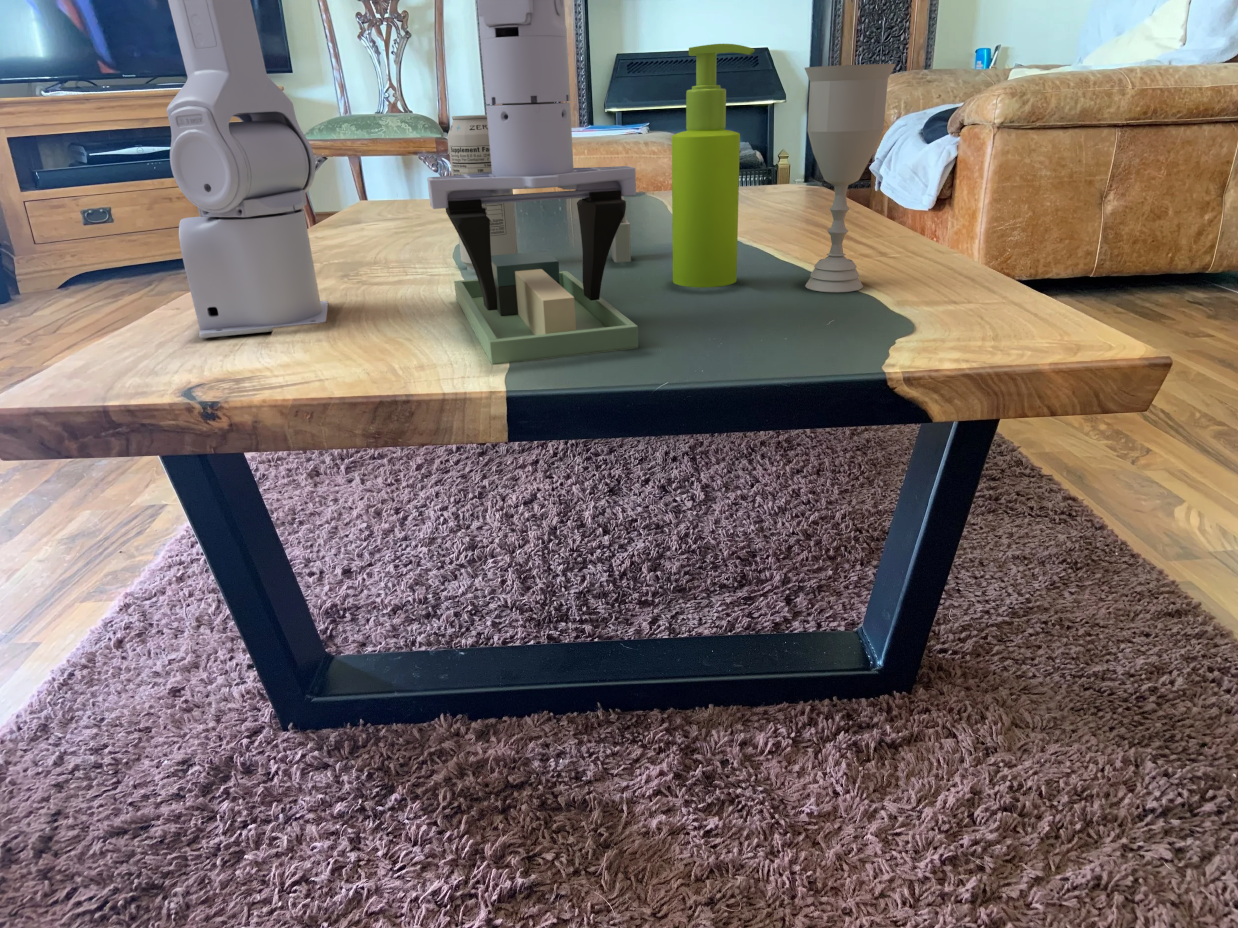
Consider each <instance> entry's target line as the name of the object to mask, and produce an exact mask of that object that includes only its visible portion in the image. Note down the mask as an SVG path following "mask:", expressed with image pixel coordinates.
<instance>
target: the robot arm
mask: <svg viewBox="0 0 1238 928" xmlns="http://www.w3.org/2000/svg"><path fill="white" fill-rule="evenodd" d="M167 2H168V7H169V10H170V13H171V14H170V15H171V18H172V21H173V26H174V29H175V34H176V38H177V41H178V45H179V49H180V53H181V57H182V61H183V65H184V68H185V73H186V77H187V80H186V81H185V83H184V85H183V86H182V87H181V89H180V90H178V92H177V94H176V95H175V96H174V98H173V99H172V100H171V101H170V103H169V104H168V105H167V107H166V115H167V118H168V122H169V127H170V132H171V139H170V140H171V142H170V149H169V162H170V164H169V165H170V168H171V173H172V176H173V179H174V181H175V183H176V185H177V187H178V188H179V190H180V192H181V193H182V194H183V196H184V197H185V198H186V199H187V200H188V201H189V202H190V203H191V204H193V206H195V207H197V210H198V214H199V215H198V216H192V217H191V216H190V217H184V218H181V219H180V220H179V224H178V238H179V247H180V252H181V258H182V262H183V267H184V270H185V274H186V279H187V283H188V287H189V291H190V296H191V299H192V303H193V308H194V312H195V315H196V320H197V324H198V329H199V332H198V335H199V338H201V339H208V338H218V337H219V338H220V337H228V336H237V335H238V336H239V335H249V334H260V333H270V332H273V330H274V329H278V328H279V329H280V328H291V327H301V326H311V325H321V324H325V323H327V319H328V309H329V301H327V300H321V299H320V291H319V287H318V286H319V285H318V281H317V275H316V270H315V265H314V264H315V263H314V258H313V253H312V247H311V242H310V236H309V230H308V226H307V220H306V214H305V209H304V207H305V206H307V205H308V202H307V201H308V200H307V196H306V193H307V192H308V191H309V190H310V188H311V187H312V185H313V182H314V180H315V176H316V158H315V154H314V153H315V152H314V151H313V148H312V145H311V144H310V142H309V139H308V138H307V137H306V135H305V134H304V132H303V130H302V128H301V127H300V125H299V122H298V120H297V115H296V113H295V107H294V102H292V100H291V99H290V98H289V96H288V95H286V94H285V93H284V91H283V90H282V89H281V88H280V87H279V86H278V85H277V84H276V83H275V82H274V81H273V80H272V79H271V77H269V75H268V74H267V69H266V66H265V65H266V64H265V61H264V56H263V52H262V47H261V41H260V38H259V33H258V28H257V24H256V19H255V15H254V10H253V6H252V2H251V0H167ZM476 3H477V13H478V14H477V16H478V27H479V41H480V51H481V63H482V73H483V75H482V76H483V86H484V95H485V96H484V98H485V104H486V106H485V110H486V115H487V122H488V134H489V145H490V156H491V167H492V172H488V173H477V174H465V175H454V176H452V175H442V176H429V177H426V180H427V188H428V197H429V206H430V207H431V209H433V210H440V209H445V213H446V215H447V217H448V218H449V220H450V222H451V224H452V227H454V229H455V231H456V234H457V236H458V235H459V236H458V238H459V237H460V239H461V241H462V243H463V245H464V247H465V249H466V251H467V253H468V255H469V257H470V260H471V262H472V265H473V267H474V272H475V275H476V279H478V281H479V284H480V288H481V292H482V296H483V301H484V306H485V307H486V309H487V310H489V311H490V310H498V309H497V295H496V288H495V282H494V276H493V270H492V261H491V244H490V219H489V218H488V217H487V216H486V209H485V208H482V204H496V203H511V202H514V203H525V202H539V201H554V200H569V199H570V200H571V199H578V200H577V202H576V206H577V214H578V221H579V228H580V229H579V230H580V237H581V238H580V239H581V248H582V251H581V252H582V283H583V290H584V295H585V296H586V297H587V298H588V299H589V300H591V301H592V300H599V298H600V297H601V289H602V281H603V276H604V272H605V267H606V264H607V259H608V256H609V253H610V251H611V245H612V242H613V239H614V237H615V234H616V232H617V230H618V228H619V225H620V223H621V221H622V219H623V217H624V215H625V213H626V211H627V210H626V209H627V202H626V200H625V199H624V200H622V199H621V196H624V197H634V196H635V197H636V196H637V180H636V178H637V177H636V174H637V173H636V167H634V166H629V165H621V166H620V165H617V166H593V167H592V166H591V167H574V153H573V133H572V113H571V112H572V111H571V90H570V70H569V51H568V29H567V24H566V9H565V7H566V5H565V0H476ZM232 117H235V118H237V119H239V120H240V121H233V122H230V121H231V120H232ZM550 188H558V189H562V190H557V191H555V190H554V191H541V192H527V193H513V194H508V195H500V194H507V193H510V189H513V190H532V189H533V190H535V189H536V190H537V189H550ZM493 194H498V195H493Z"/></svg>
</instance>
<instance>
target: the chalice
mask: <svg viewBox="0 0 1238 928" xmlns="http://www.w3.org/2000/svg"><path fill="white" fill-rule="evenodd" d="M896 65H897V63H870V64H845V65H842V64H841V65H823V66H808V67H807V66H806V67H804V71H805V73H806V75H807V78H808V80H809V94H808V114H807V135H808V139H809V143H810V146H811V150H812V154H813V157H814V159H815V161H816V163H817V165H818V166H817V167H818V168H819V171H820V174H821V175H822V178H823V181H825V182H827V183H828V184H830V185H833V189H834V190H833V191H834V198H833V202H832V205H831V207H830V208H829V210H830V213H831V214H832V223H831V226H830V228H828V230H827V233H828V234H829V235H830V241H831V243H830V244H831V245H830V250H829V253H826V257H824V258H821V259H819V260H818V261H817V262H816V263H815V264H814V265H813V267H814V268H813V270H812V272H810V275H809V279H808V280H807V282H806V284H805V286H804V287H805V288H807V289H808V290H811V291H817V292H822V293H823V292H824V293H849V292H855V291H860V290H861V289H863V288H864V285H863V284H862V282H861V280H860V274H859V272H858V270H857V267H858V266H857V265H856V263H855V262H854V260H853V259H850V258H847V257H846V253H844V250H843V243H844V240H845V235H846V234H847V233H848V232H849V229H848V228H847V227H846V223H845V218H846V216H847V213H848V211H850V207H849V206H848V203H847V192H848V190H849V189H848V188H849V185H852V184H854V183H856V182H858V181H859V180H860V178H861V176H862V175H863V174H864V171H865V169H866V168H867V166H868V164H869V162H870V160H871V158H872V157H873V155H874V153H875V151H876V149H877V146H878V144H879V142H880V139H881V136H882V134H883V131H884V127H885V116H886V104H887V96H888V95H887V93H888V82H889V78H890V76H891V74H892V72H893V70H894V69H895V67H896Z"/></svg>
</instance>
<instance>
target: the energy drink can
mask: <svg viewBox="0 0 1238 928" xmlns="http://www.w3.org/2000/svg"><path fill="white" fill-rule="evenodd" d="M451 120H452V122H451V125H450V128H449V130H448V133H447V141H448V143H447V144H448V150H449V161H450V169H451V170H450V171H451V176H454V175H465V174H477V173H488V172H492V167H491V156H490V145H489V134H488V122H487V114H471V115H470V114H469V115H453V116H451ZM508 194H514V189H510V193H507V194H500V195H508ZM493 195H498V194H493ZM482 208H485V209H486V216H487V217H488V218H489V219H490V244H491V256H494V255H506V254H518V253H519V252H518V241H517V239H518V237H517V227H516V214H515V213H516V212H515V202H511V203H496V204H482ZM457 236H458V244H459V255H460V261H461V263H463V264H464V265H465V266H466V270H467V271H473V270H474V267H473V265H472V262H471V260H470V257H469V255H468V253H467V251H466V249H465V247H464V245H463V243H462V241H461V239H460V237H459V235H458V234H457ZM474 271H475V270H474Z"/></svg>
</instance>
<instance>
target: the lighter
mask: <svg viewBox="0 0 1238 928" xmlns="http://www.w3.org/2000/svg"><path fill="white" fill-rule="evenodd" d="M621 199H622V200H625V196H621ZM631 246H632V245H631V222H629V221H628V219H627V215H626V212H625V215H624V217H623V219H622V221H621V223H620V225H619V228H618V230H617V232H616V234H615V237H614V239H613V242H612V245H611V247H610V257H611V259H612V260H613V262H614V263H630V262H632V257H631V256H632V251H631V250H632V247H631Z"/></svg>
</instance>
